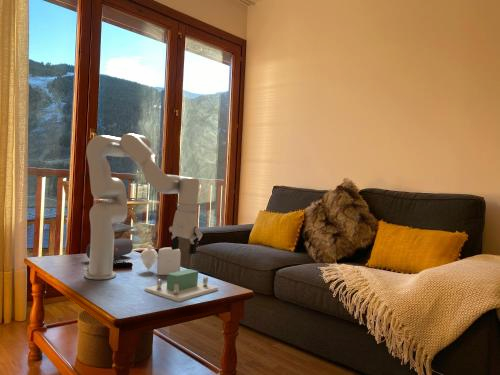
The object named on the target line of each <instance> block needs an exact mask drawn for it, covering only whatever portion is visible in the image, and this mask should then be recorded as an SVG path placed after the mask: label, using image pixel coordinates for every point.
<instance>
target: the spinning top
mask: <svg viewBox="0 0 500 375" xmlns="http://www.w3.org/2000/svg"><path fill="white" fill-rule="evenodd" d="M152 247H153V245H150V244H149V245H147V248H145V249H143V251H142V252H141V253H140V259H141V261H142V263H143V265H144V267H145V268H146V269H147V272H150V269H151V268H152V267H153V266H154V264H155V263H156V262H157V261H158V252H157V251H156V249H155V248H152Z"/></svg>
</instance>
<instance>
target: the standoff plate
mask: <svg viewBox="0 0 500 375" xmlns="http://www.w3.org/2000/svg"><path fill="white" fill-rule="evenodd" d="M202 278H203V279H202V282H200V281H198V283H197V286H196V287H192V288H188V289H185V290H181V291H179V285H178V284H174V291H171V290H168V289H167V282H164V283H163V279H160V278H158V279H157V281H156V285H152V286H148V287H145V292H148V293H150V294H153V295H157V296H160V297H162V298H166V299H169V300H171V301H174V302H178V303H179V302H183V301H185V300H189V299H193V298H196V297H199V296H203V295H206V294H210V293H213V292H216V290H217V291H218V290H219V287H218V286H215V285H211V284H208V282H209V277H207V276H204V277H202Z"/></svg>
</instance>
